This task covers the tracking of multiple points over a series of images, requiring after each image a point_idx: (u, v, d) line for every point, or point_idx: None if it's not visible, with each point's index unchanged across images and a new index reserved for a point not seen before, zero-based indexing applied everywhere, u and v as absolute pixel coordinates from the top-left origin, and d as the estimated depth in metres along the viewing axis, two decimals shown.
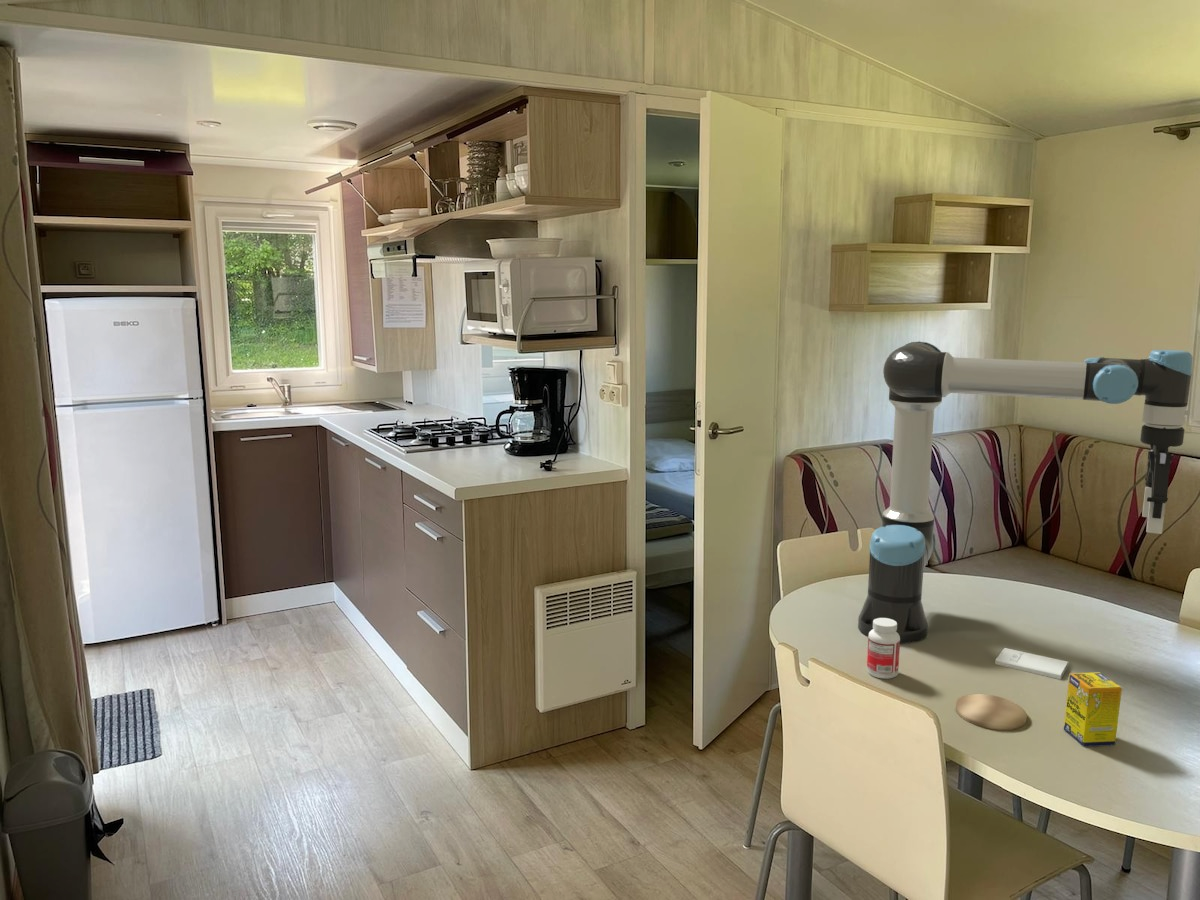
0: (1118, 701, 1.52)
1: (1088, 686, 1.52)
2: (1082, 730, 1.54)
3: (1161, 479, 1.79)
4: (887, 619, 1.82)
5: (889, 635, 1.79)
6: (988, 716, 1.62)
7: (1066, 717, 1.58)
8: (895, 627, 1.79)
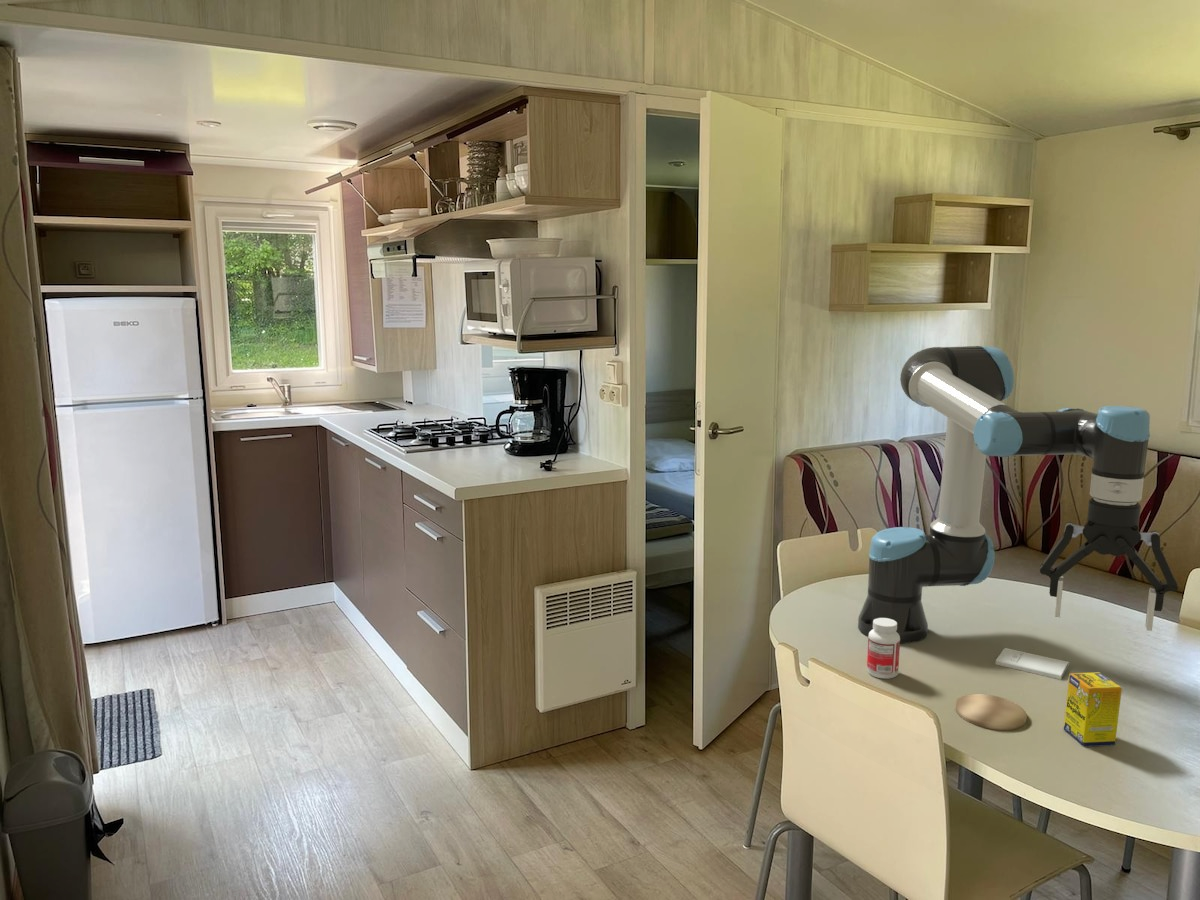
0: (1118, 701, 1.52)
1: (1088, 686, 1.52)
2: (1082, 730, 1.54)
3: (1053, 549, 1.54)
4: (888, 619, 1.82)
5: (889, 635, 1.79)
6: (988, 716, 1.62)
7: (1066, 717, 1.58)
8: (895, 627, 1.79)
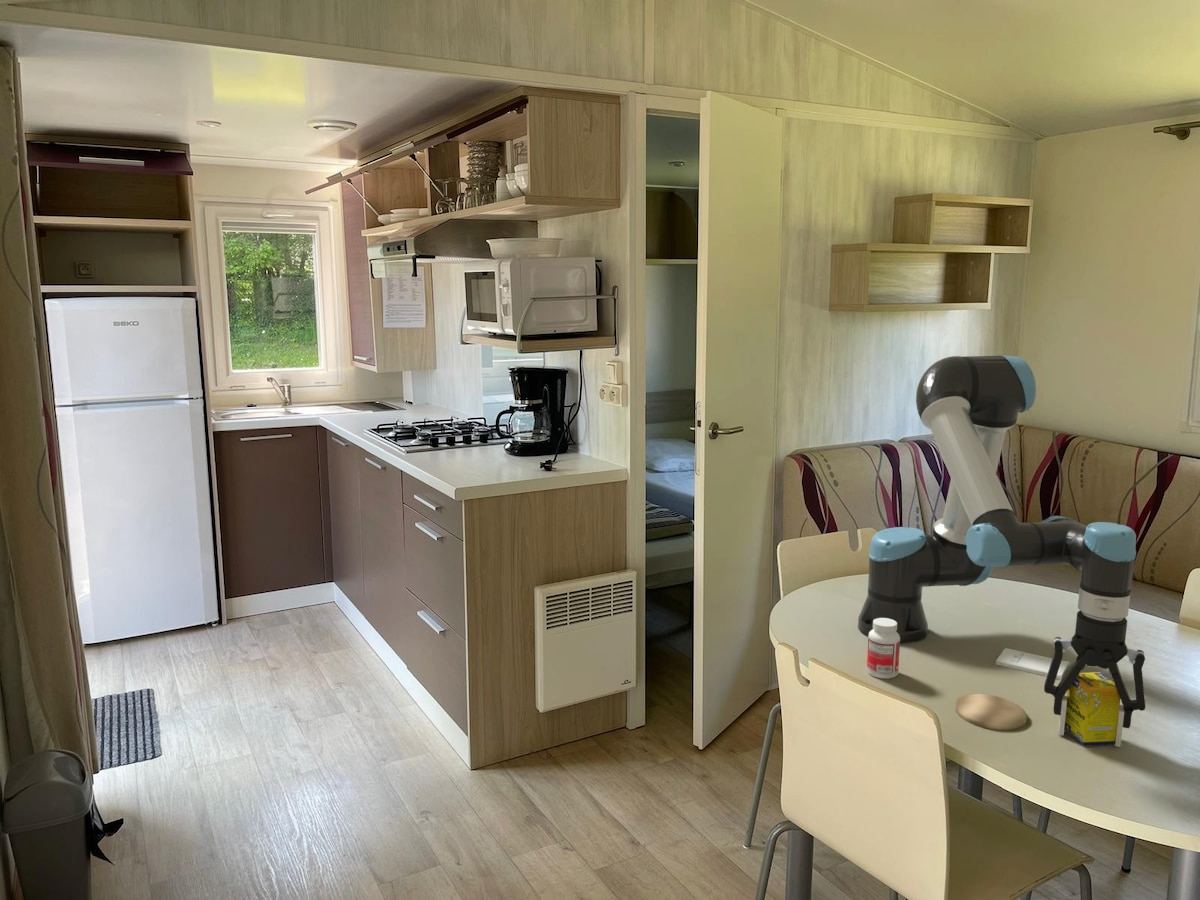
0: (1118, 701, 1.52)
1: (1088, 686, 1.52)
2: (1082, 730, 1.54)
3: (1050, 667, 1.57)
4: (888, 619, 1.82)
5: (889, 635, 1.79)
6: (988, 716, 1.62)
7: (1066, 717, 1.58)
8: (895, 627, 1.79)
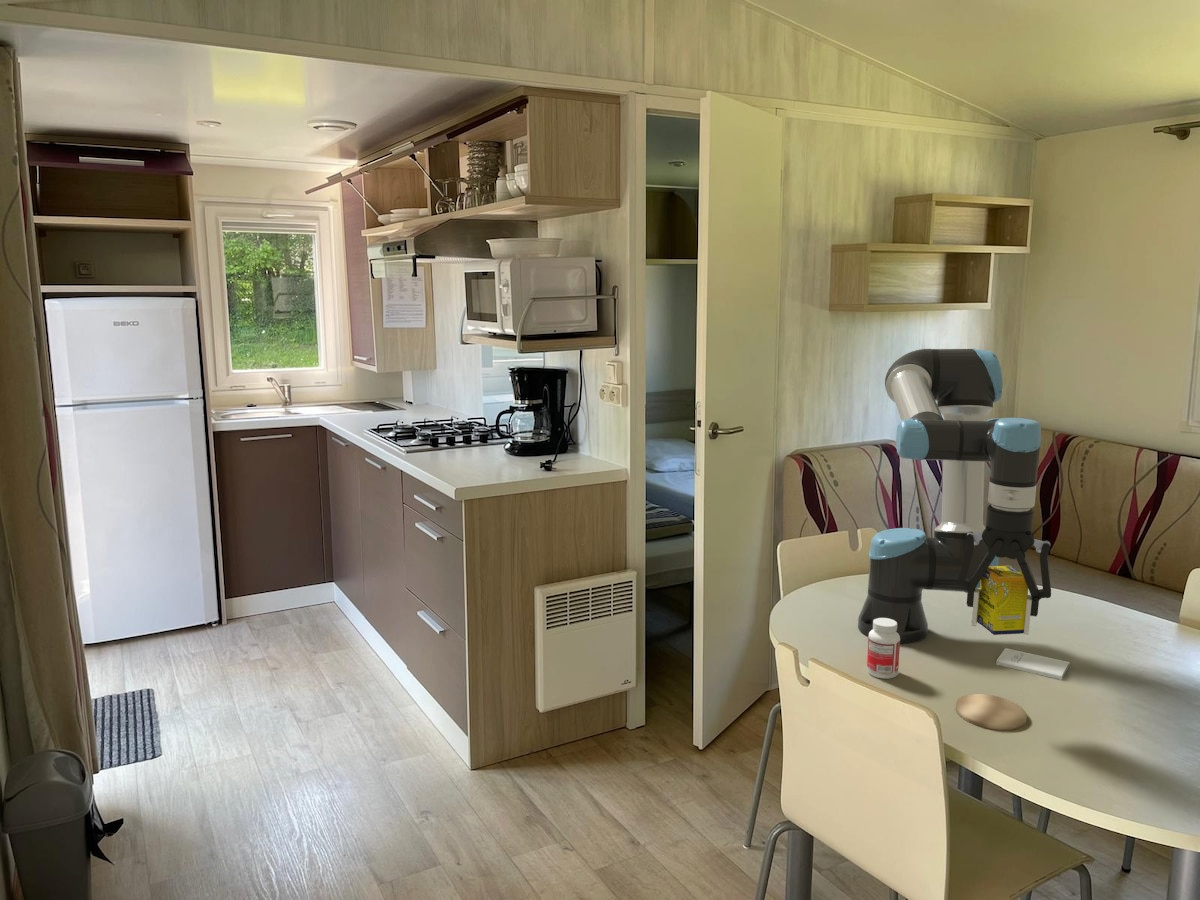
0: (1026, 590, 1.58)
1: (997, 576, 1.58)
2: (992, 619, 1.59)
3: None
4: (888, 619, 1.82)
5: (889, 635, 1.79)
6: (988, 716, 1.62)
7: (979, 609, 1.64)
8: (895, 627, 1.79)
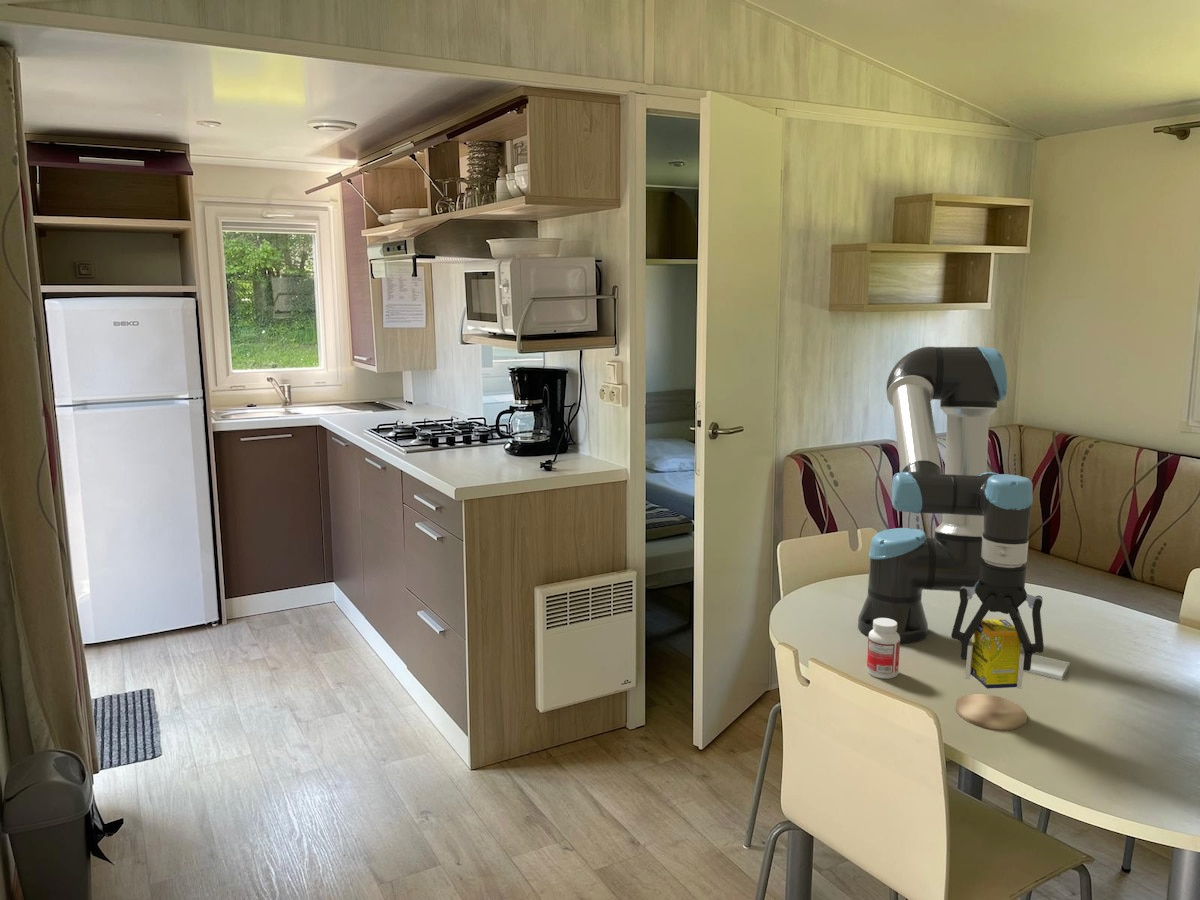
0: (1019, 644, 1.60)
1: (990, 630, 1.60)
2: (985, 673, 1.61)
3: None
4: (888, 619, 1.82)
5: (889, 635, 1.79)
6: (988, 716, 1.62)
7: (973, 662, 1.66)
8: (895, 627, 1.79)
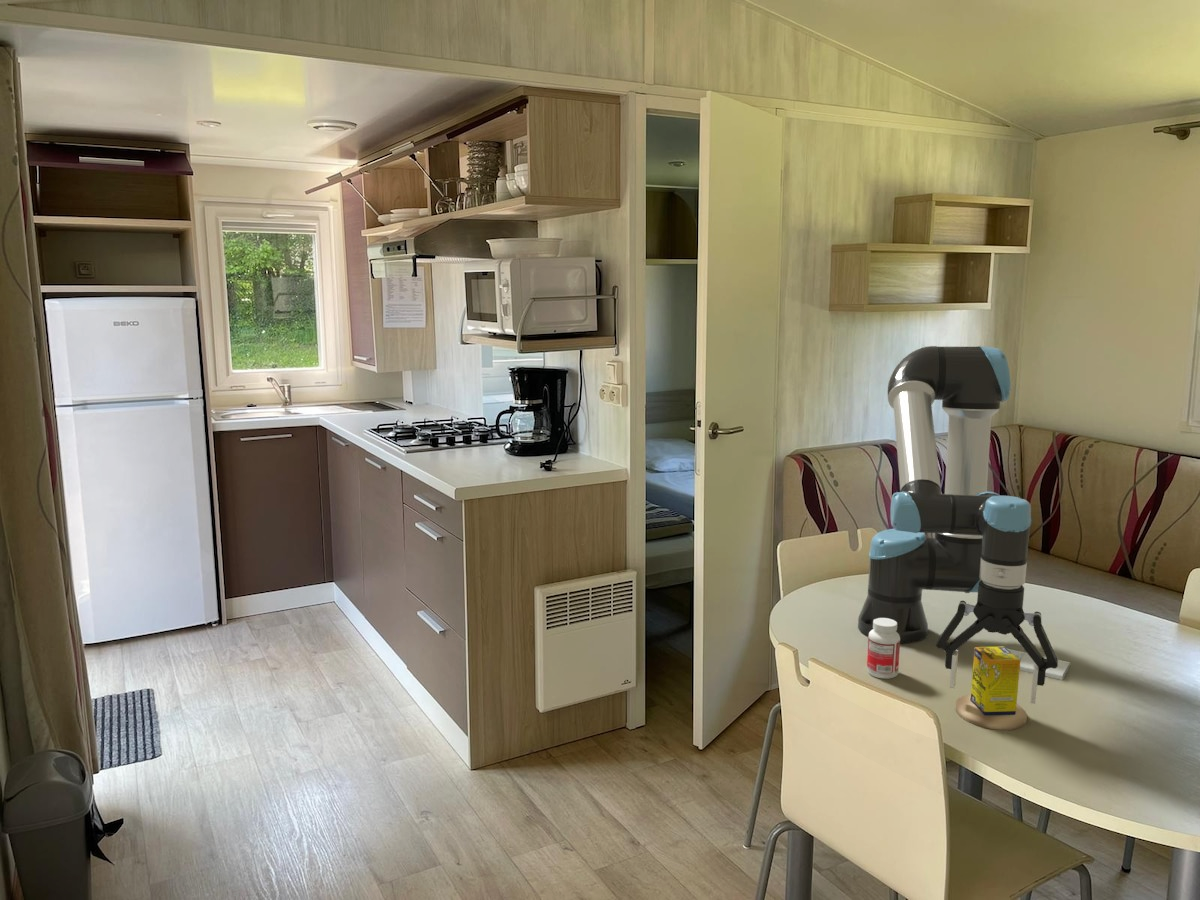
0: (1017, 673, 1.61)
1: (988, 658, 1.61)
2: (983, 700, 1.62)
3: (948, 626, 1.66)
4: (888, 619, 1.82)
5: (889, 635, 1.79)
6: (988, 716, 1.62)
7: (972, 688, 1.67)
8: (895, 627, 1.79)
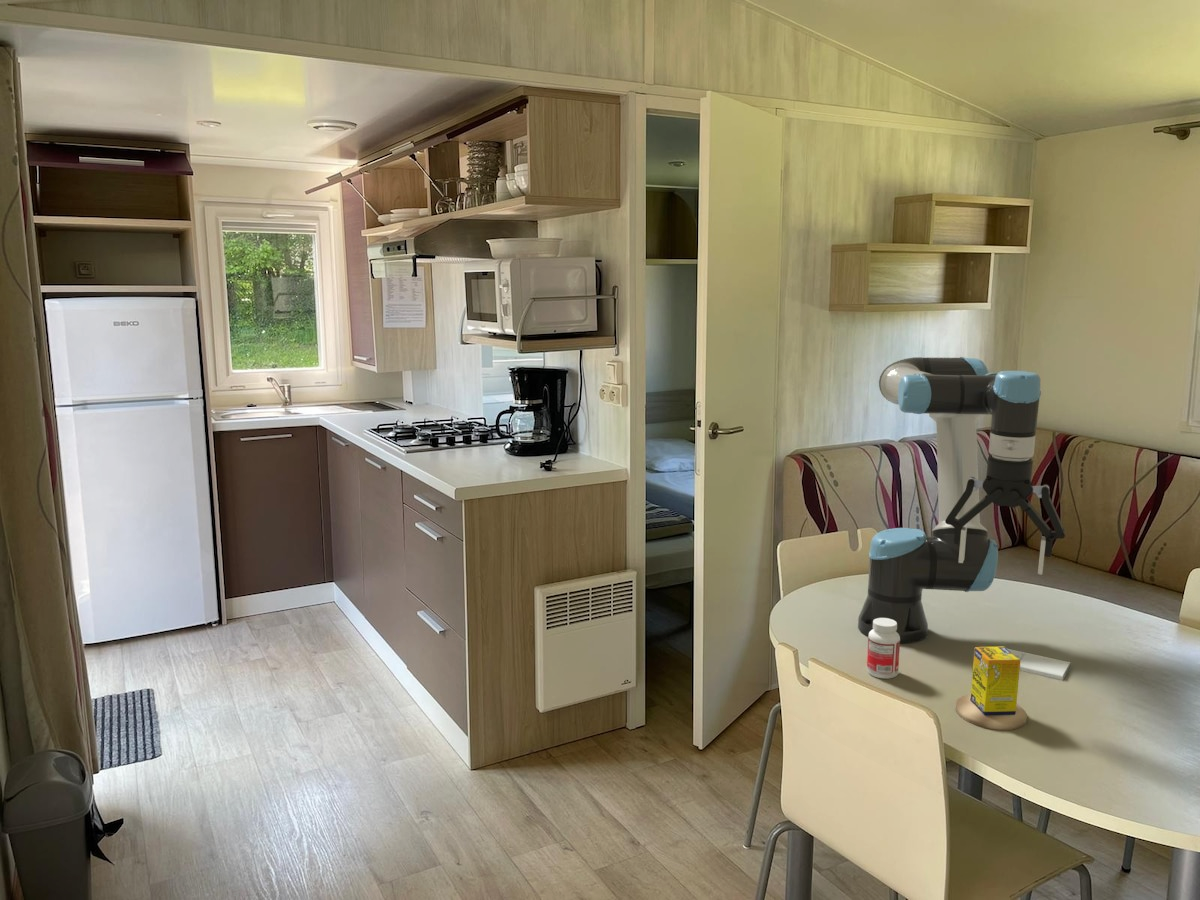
0: (1017, 673, 1.61)
1: (988, 658, 1.61)
2: (983, 700, 1.62)
3: (957, 502, 1.69)
4: (887, 619, 1.82)
5: (889, 635, 1.79)
6: (988, 716, 1.62)
7: (972, 688, 1.67)
8: (895, 627, 1.79)
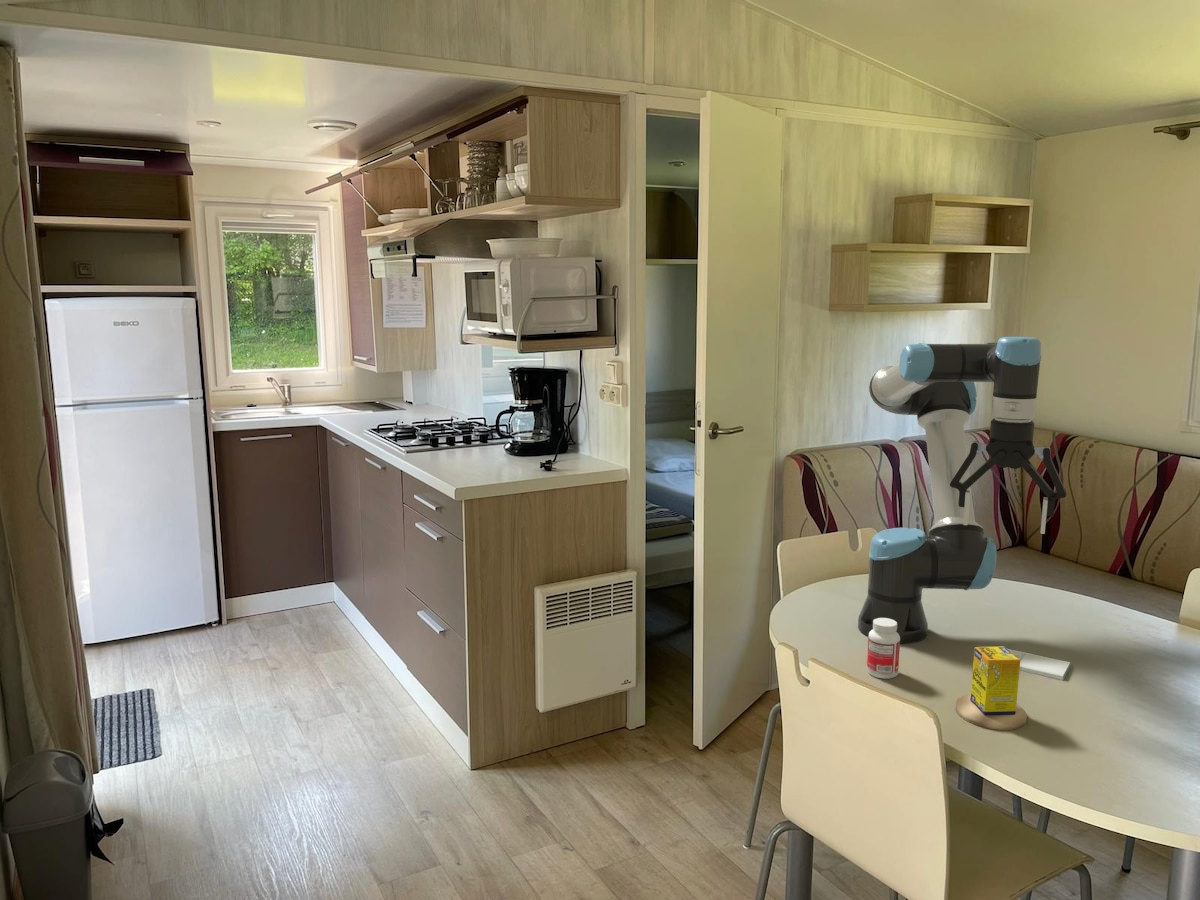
0: (1017, 673, 1.61)
1: (988, 658, 1.61)
2: (983, 700, 1.62)
3: None
4: (888, 619, 1.82)
5: (889, 635, 1.79)
6: (988, 716, 1.62)
7: (972, 688, 1.67)
8: (895, 627, 1.79)
